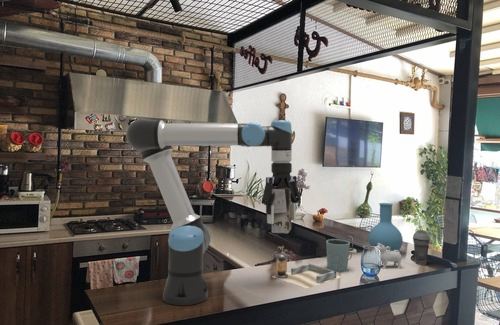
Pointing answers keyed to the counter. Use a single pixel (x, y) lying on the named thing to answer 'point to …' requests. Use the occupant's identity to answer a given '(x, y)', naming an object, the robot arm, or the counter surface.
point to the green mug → (337, 254)
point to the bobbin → (281, 265)
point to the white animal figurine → (389, 256)
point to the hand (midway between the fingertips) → (281, 221)
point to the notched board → (309, 276)
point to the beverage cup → (421, 246)
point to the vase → (386, 230)
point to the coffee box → (282, 210)
